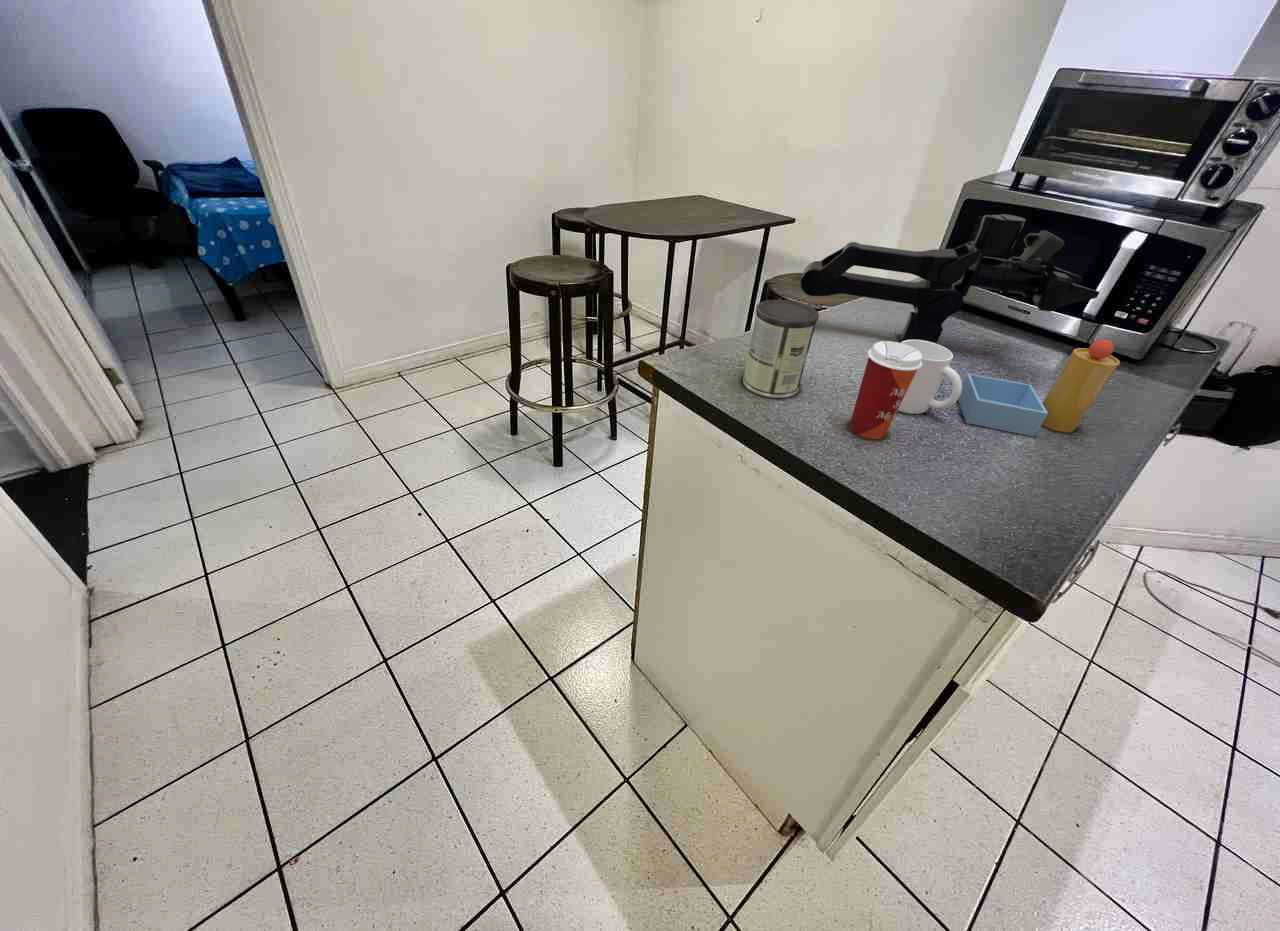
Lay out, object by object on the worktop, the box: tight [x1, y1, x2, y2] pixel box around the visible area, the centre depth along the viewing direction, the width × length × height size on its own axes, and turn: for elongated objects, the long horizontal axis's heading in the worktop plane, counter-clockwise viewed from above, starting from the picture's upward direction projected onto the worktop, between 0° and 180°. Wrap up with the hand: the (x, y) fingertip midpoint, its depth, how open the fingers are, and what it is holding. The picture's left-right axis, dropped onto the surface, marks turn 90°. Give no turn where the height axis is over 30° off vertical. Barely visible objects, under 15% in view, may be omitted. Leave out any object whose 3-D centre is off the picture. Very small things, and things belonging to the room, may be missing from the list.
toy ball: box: [1088, 339, 1115, 359], centre depth 83 cm, size 3×3×3 cm
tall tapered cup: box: [1041, 347, 1121, 433], centre depth 87 cm, size 6×6×12 cm
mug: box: [897, 340, 963, 415], centre depth 89 cm, size 12×8×10 cm
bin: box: [957, 373, 1048, 437], centre depth 91 cm, size 10×10×4 cm
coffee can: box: [742, 299, 820, 399], centre depth 92 cm, size 10×10×14 cm
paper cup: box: [849, 340, 922, 440], centre depth 81 cm, size 8×8×14 cm
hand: (1089, 287), depth 100 cm, fingers open, 9 cm apart
